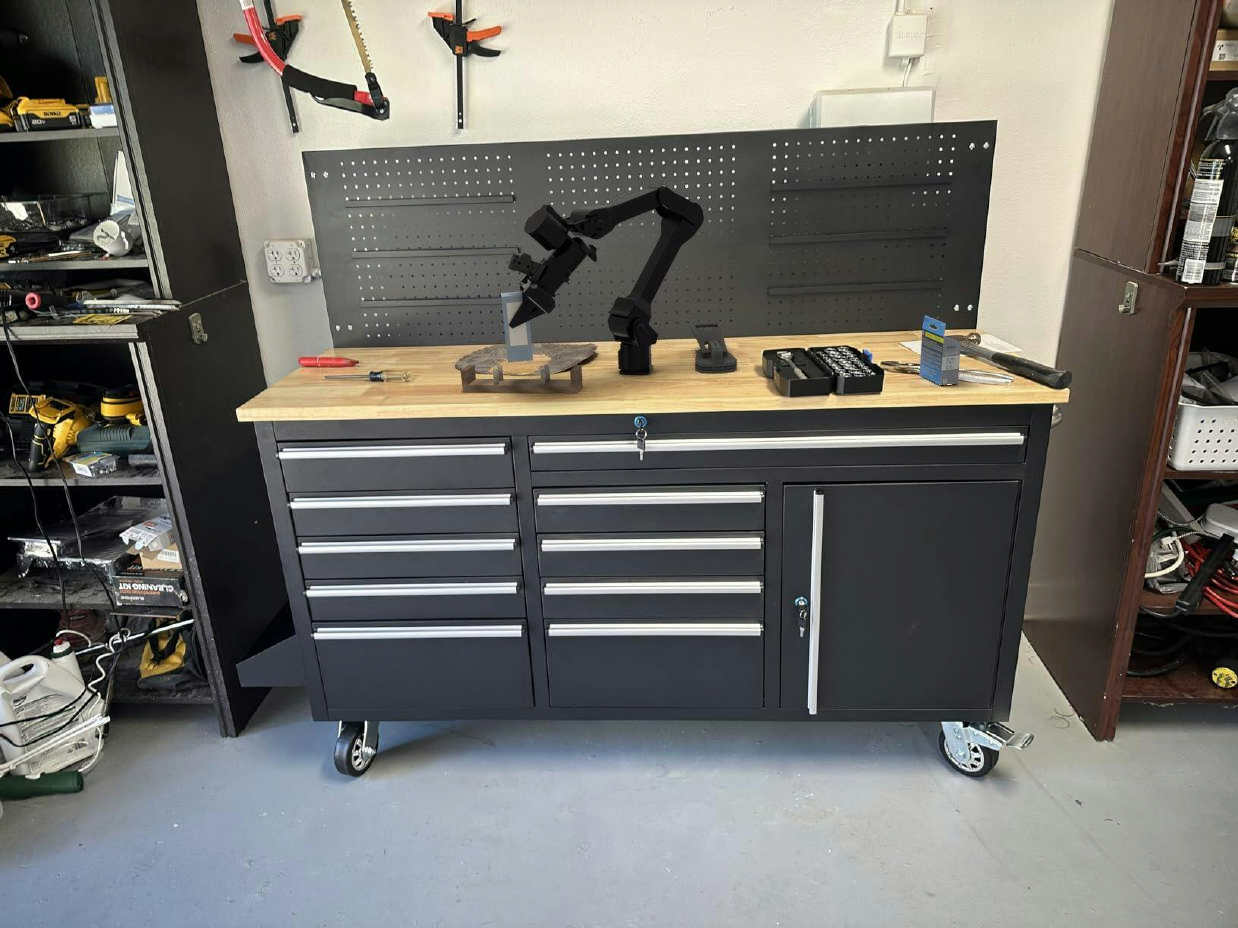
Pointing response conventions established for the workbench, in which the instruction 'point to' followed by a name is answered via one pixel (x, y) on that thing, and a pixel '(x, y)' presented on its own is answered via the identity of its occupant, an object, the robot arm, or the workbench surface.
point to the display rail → (521, 382)
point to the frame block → (516, 330)
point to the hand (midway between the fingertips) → (509, 324)
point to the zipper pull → (712, 348)
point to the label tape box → (939, 354)
